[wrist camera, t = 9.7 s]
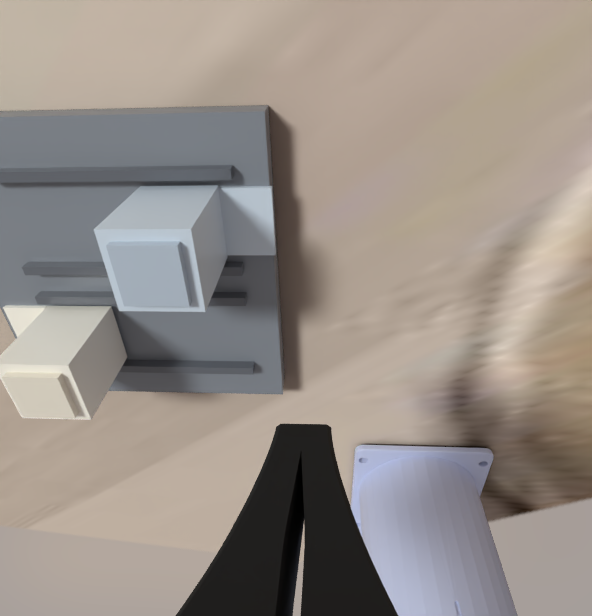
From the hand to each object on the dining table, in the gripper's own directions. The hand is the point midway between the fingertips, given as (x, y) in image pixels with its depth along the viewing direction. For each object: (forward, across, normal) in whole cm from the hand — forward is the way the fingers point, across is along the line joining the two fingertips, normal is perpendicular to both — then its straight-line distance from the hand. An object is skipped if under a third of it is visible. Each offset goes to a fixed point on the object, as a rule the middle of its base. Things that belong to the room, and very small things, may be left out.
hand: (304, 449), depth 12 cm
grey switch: (+8, +5, -3) cm, 10 cm away
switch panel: (+10, +8, 0) cm, 13 cm away
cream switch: (+8, +11, +2) cm, 14 cm away
